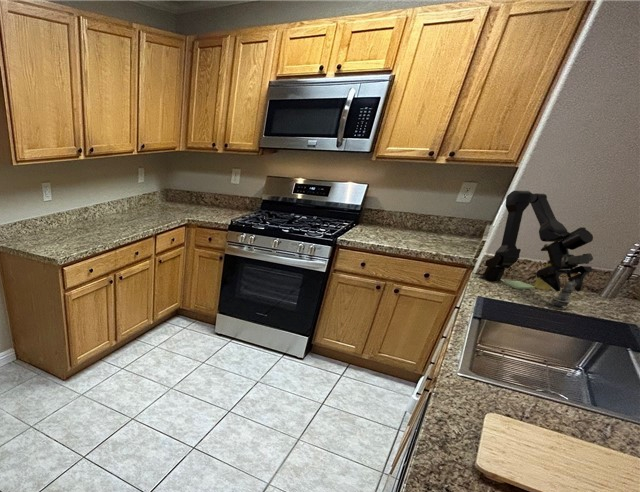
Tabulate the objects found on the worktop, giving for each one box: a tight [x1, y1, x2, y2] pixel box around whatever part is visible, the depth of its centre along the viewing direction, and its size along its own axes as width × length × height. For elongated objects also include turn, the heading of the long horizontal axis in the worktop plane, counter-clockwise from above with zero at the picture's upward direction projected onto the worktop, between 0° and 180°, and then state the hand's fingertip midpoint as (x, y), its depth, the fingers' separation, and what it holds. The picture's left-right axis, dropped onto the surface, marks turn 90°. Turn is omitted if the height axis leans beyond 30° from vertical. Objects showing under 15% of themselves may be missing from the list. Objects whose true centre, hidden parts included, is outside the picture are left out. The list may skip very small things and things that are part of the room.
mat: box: [501, 280, 536, 290], centre depth 192 cm, size 8×9×1 cm
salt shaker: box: [547, 279, 577, 311], centre depth 167 cm, size 6×6×12 cm
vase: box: [532, 262, 552, 291], centre depth 187 cm, size 6×6×14 cm
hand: (568, 291), depth 166 cm, fingers open, 9 cm apart
